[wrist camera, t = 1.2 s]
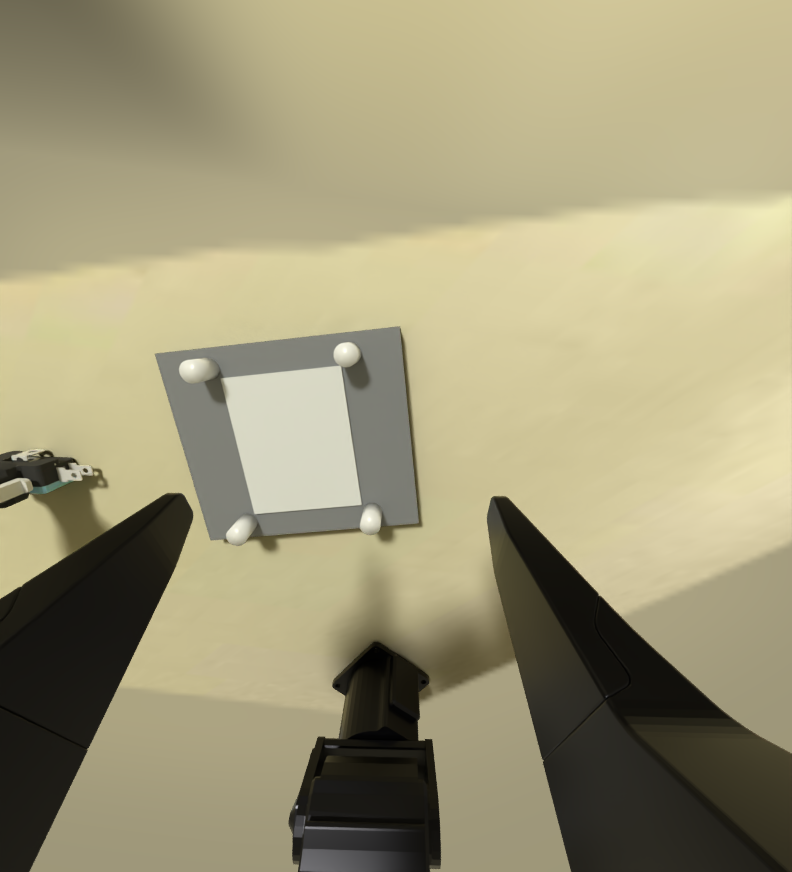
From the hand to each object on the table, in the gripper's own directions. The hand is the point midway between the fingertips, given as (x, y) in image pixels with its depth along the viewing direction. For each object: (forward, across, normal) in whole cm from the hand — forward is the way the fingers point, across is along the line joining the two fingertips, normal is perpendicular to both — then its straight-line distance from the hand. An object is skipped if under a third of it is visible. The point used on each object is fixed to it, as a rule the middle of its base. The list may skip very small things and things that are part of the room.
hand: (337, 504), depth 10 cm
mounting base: (+13, +6, +7) cm, 16 cm away
